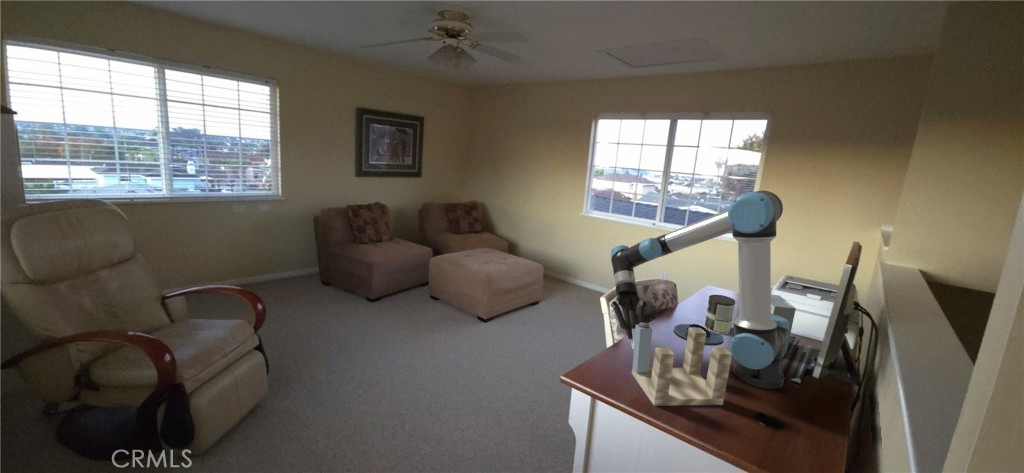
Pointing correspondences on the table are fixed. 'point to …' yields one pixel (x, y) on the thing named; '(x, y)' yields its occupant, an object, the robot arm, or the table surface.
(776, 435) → the table surface
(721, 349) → the upturned stool
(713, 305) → the coffee can
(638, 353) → the pale blue upright post
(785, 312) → the hard drive box
